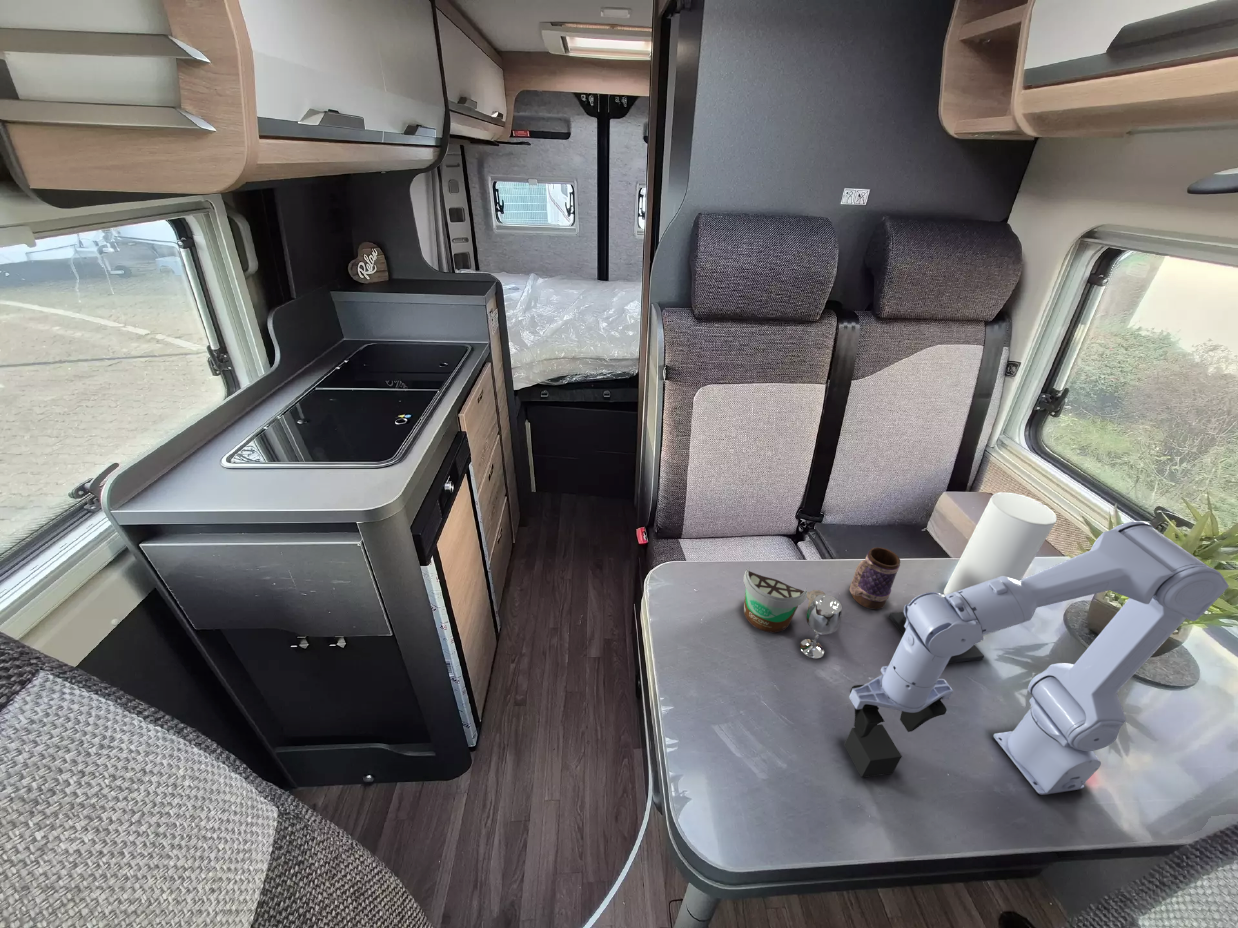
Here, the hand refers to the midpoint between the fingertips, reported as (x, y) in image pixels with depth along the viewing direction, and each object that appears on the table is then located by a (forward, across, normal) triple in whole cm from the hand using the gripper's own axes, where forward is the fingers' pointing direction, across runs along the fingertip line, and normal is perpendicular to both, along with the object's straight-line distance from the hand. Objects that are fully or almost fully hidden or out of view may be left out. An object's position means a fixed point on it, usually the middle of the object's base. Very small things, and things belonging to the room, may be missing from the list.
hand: (882, 728), depth 79 cm
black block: (+7, 0, 0) cm, 7 cm away
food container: (+8, +6, -28) cm, 29 cm away
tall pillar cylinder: (+7, -42, -29) cm, 51 cm away
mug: (+8, -18, -32) cm, 37 cm away
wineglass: (+8, -1, -21) cm, 22 cm away
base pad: (+7, -27, -21) cm, 34 cm away
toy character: (+8, -6, -29) cm, 30 cm away
